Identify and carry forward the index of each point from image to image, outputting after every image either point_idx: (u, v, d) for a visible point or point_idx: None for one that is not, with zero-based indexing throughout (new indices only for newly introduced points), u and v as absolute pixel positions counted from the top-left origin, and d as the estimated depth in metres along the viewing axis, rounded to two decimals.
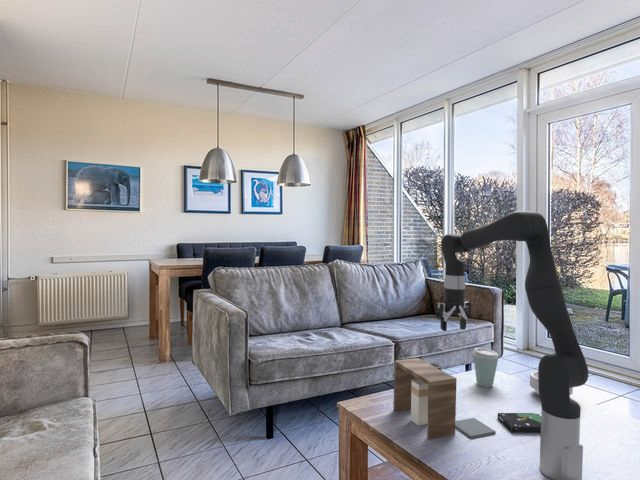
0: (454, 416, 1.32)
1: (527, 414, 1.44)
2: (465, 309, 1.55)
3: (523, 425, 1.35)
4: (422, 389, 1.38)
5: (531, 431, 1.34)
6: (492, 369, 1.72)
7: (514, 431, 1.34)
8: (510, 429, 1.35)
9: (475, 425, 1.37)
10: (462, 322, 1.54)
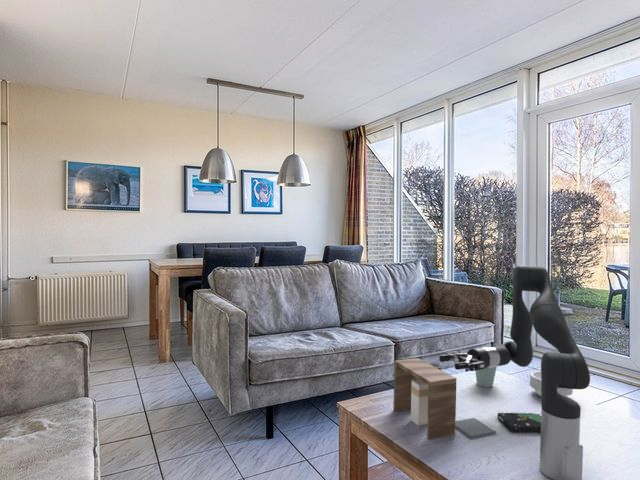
0: (454, 416, 1.32)
1: (527, 414, 1.43)
2: None
3: (523, 425, 1.35)
4: (422, 389, 1.38)
5: (531, 431, 1.34)
6: (492, 369, 1.72)
7: (514, 431, 1.34)
8: (510, 429, 1.35)
9: (475, 425, 1.37)
10: None
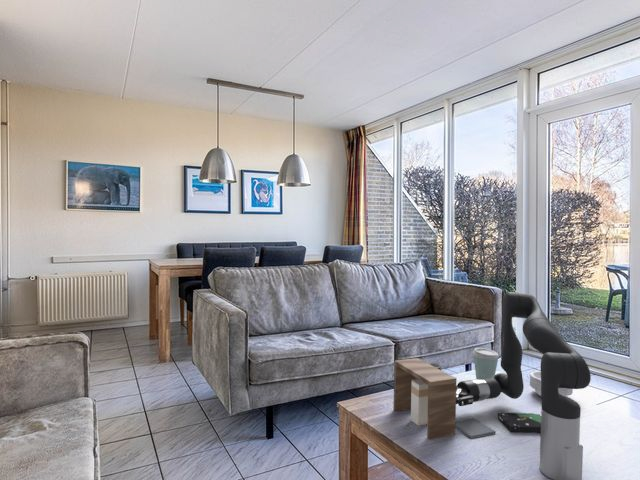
0: (454, 416, 1.32)
1: (527, 414, 1.43)
2: None
3: (522, 425, 1.35)
4: (422, 389, 1.38)
5: (530, 431, 1.34)
6: (492, 369, 1.72)
7: (513, 431, 1.34)
8: (509, 429, 1.35)
9: (475, 425, 1.37)
10: None
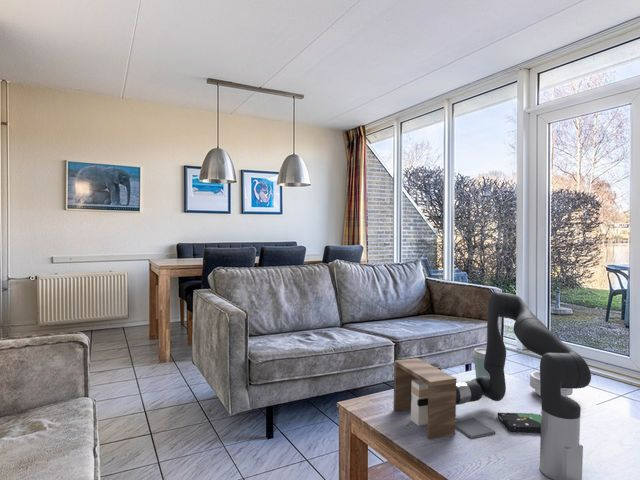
0: (454, 416, 1.32)
1: (527, 414, 1.43)
2: None
3: (522, 425, 1.35)
4: (422, 389, 1.38)
5: (530, 431, 1.34)
6: None
7: (513, 431, 1.34)
8: (509, 429, 1.35)
9: (475, 425, 1.37)
10: None
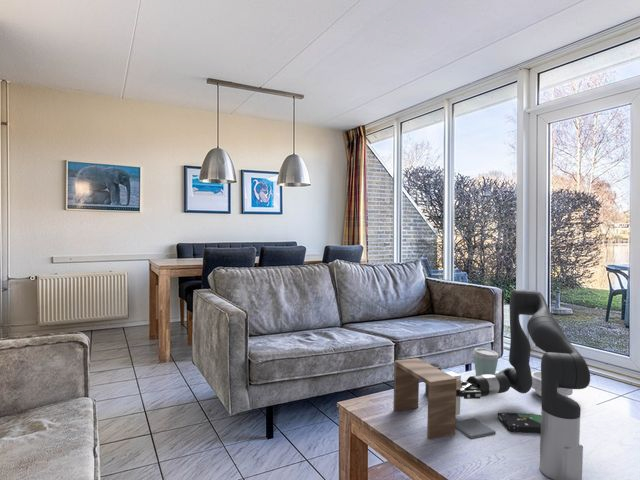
0: (454, 416, 1.32)
1: (528, 414, 1.43)
2: None
3: (521, 425, 1.35)
4: None
5: (529, 431, 1.34)
6: (492, 369, 1.72)
7: (512, 430, 1.34)
8: (508, 428, 1.35)
9: (475, 425, 1.37)
10: None
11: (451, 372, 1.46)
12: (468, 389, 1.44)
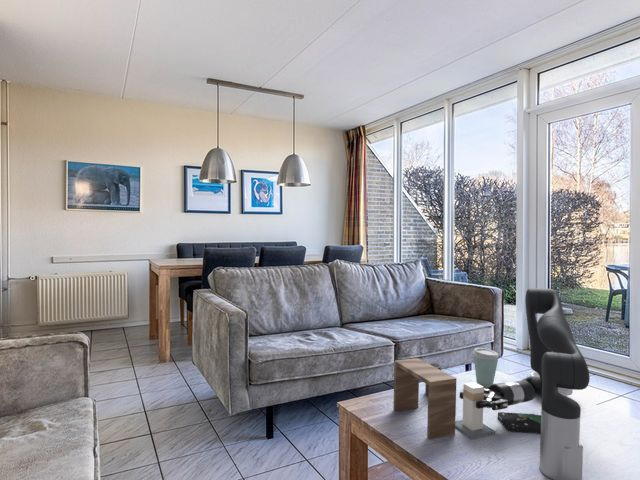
0: (454, 416, 1.32)
1: (528, 414, 1.43)
2: None
3: (521, 425, 1.35)
4: (475, 393, 1.34)
5: (529, 431, 1.34)
6: (492, 369, 1.72)
7: (511, 430, 1.35)
8: (507, 428, 1.35)
9: None
10: None
11: (473, 383, 1.37)
12: (493, 398, 1.35)
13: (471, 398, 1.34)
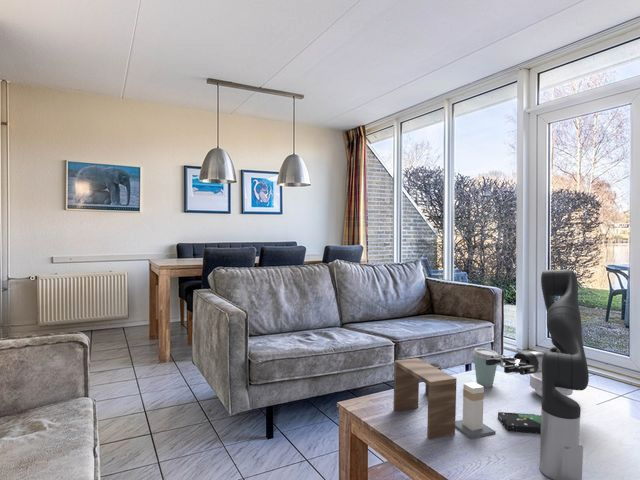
0: (454, 416, 1.32)
1: (528, 415, 1.43)
2: None
3: (520, 425, 1.35)
4: (475, 393, 1.34)
5: (528, 431, 1.34)
6: (492, 369, 1.72)
7: (510, 430, 1.35)
8: (507, 428, 1.35)
9: None
10: None
11: (473, 383, 1.37)
12: (520, 365, 1.40)
13: (471, 398, 1.34)
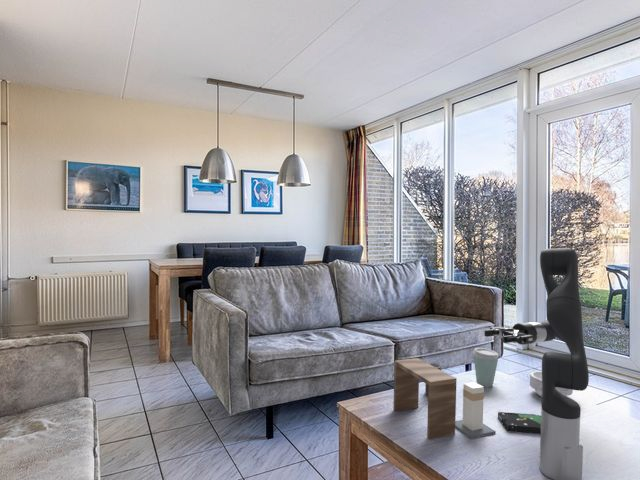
0: (454, 416, 1.32)
1: (529, 415, 1.43)
2: None
3: (520, 424, 1.35)
4: (475, 393, 1.34)
5: (528, 431, 1.34)
6: (492, 369, 1.72)
7: (510, 430, 1.35)
8: (506, 427, 1.36)
9: None
10: None
11: (473, 383, 1.37)
12: (518, 335, 1.41)
13: (471, 398, 1.34)
